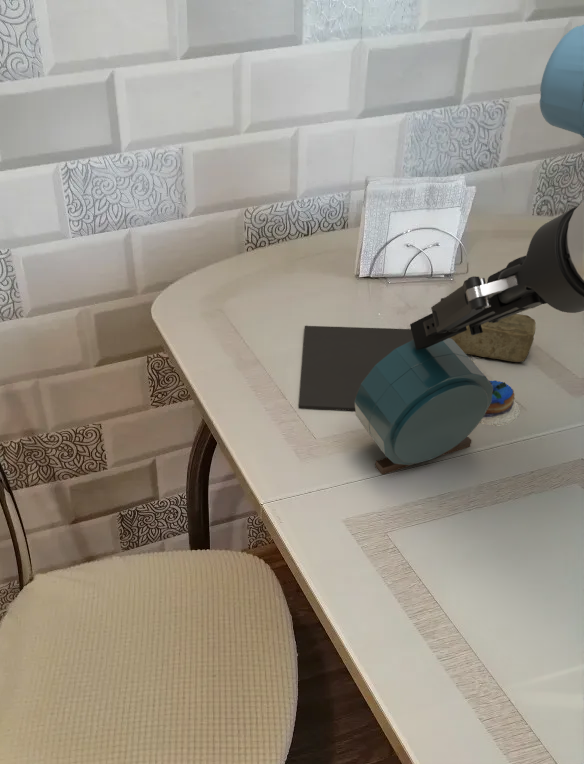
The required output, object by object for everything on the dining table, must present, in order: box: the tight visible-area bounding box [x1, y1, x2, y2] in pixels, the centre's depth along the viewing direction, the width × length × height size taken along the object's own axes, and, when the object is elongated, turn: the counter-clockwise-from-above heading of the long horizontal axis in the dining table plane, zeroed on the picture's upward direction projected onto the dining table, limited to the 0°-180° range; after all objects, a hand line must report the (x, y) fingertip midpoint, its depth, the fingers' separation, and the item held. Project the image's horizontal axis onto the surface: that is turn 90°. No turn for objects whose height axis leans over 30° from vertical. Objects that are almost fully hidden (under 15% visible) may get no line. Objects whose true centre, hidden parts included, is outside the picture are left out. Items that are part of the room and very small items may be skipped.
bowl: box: [355, 338, 493, 466], centre depth 86 cm, size 13×13×7 cm
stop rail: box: [374, 435, 473, 476], centre depth 92 cm, size 12×2×2 cm, turn 113°
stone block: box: [450, 313, 537, 363], centre depth 108 cm, size 6×12×5 cm, turn 68°
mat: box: [298, 325, 414, 412], centre depth 107 cm, size 18×20×1 cm
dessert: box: [479, 380, 520, 427], centre depth 98 cm, size 8×7×6 cm
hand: (418, 336), depth 82 cm, fingers closed
